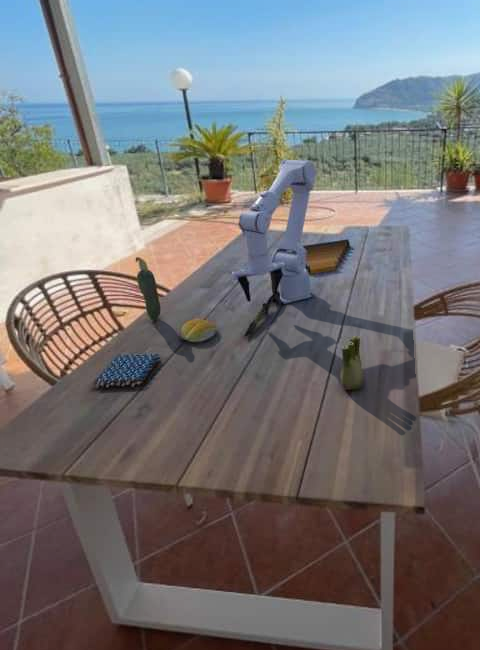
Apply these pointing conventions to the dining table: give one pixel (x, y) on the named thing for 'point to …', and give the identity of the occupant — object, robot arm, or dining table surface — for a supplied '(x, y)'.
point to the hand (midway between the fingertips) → (261, 297)
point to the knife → (263, 312)
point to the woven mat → (127, 370)
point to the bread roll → (198, 330)
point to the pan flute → (324, 255)
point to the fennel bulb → (351, 365)
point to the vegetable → (148, 289)
